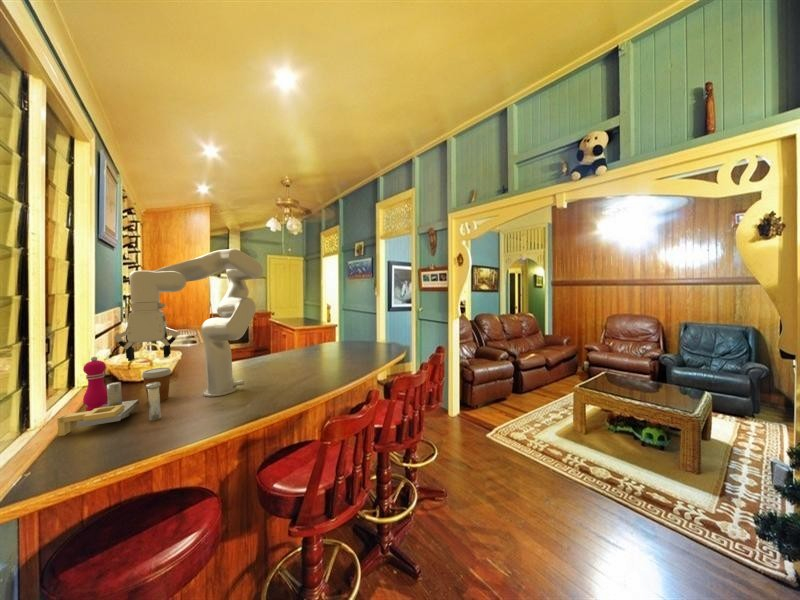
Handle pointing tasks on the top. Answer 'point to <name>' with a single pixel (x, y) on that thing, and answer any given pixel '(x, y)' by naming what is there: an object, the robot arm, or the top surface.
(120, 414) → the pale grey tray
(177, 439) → the top surface
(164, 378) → the disposable coffee cup
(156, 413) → the steel pin
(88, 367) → the pepper mill
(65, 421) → the bracket
